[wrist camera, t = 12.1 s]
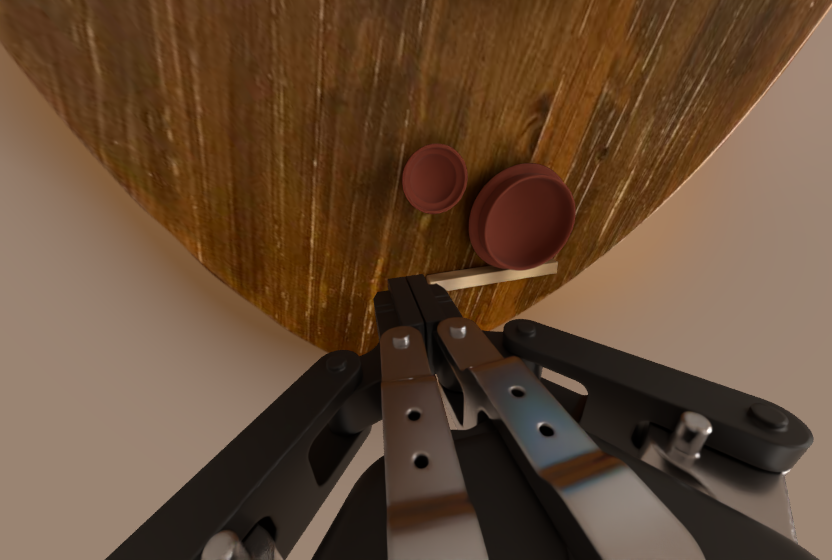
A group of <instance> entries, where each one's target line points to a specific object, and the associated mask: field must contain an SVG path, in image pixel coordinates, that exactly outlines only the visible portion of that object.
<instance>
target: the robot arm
mask: <svg viewBox="0 0 832 560" xmlns="http://www.w3.org/2000/svg"><path fill="white" fill-rule="evenodd" d="M388 290H389V291H382V292H377V294H376V295H375V297H374V299H373V300H374V307H375V315H376V322H377V330H378V335H379V343H378V345H377V346H376V347H375V348H374V349H373V350H372V351H370V352H368V353H366V354H364V355H362V356H358V355H357V354H356V353H354V352H352V351H349V350H338V351H334V352H331V353H328V354H326V355H325V356H323V357H321V358H320V359H319V360H318V361H317V362H316V363H315V364H314V365H313V366H311V367H310V369H309V370H307V371H306V372H305V373H304V374H303V375H302V376H301V377H300V378H299V379H298V380H297V381H296V382H294V383H293V384H292V385H291V386H290V387H289V388H288V389H287V390H286V391H285V392H284V393H283V394H282V395H280V396H279V397H278V398H277V399H276V400H275V401H274V402H273V403H272V404H271V405H270V406H269V407H268V408H267V409H266V410H265V411H263V412H262V413H261V414H260V415H259V416H258V417H257V418H256V419H255V420H254V421H253V422H252V423H251V424H250V425H248V426H247V427H246V428H245V429H244V430H243V431H242V432H241V433H240V434H239V435H238V436H237V437H236V438H235V439H233V440H232V441H231V442H230V443H229V444H228V445H227V446H226V447H225V448H224V449H223V450H222V451H221V452H219V453H218V455H216V456H215V457H214V458H213V459H212V460H211V461H210V462H209V463H208V464H207V465H206V466H205V467H204V468H202V469H201V470H200V471H199V472H198V473H197V474H196V475H195V476H194V477H193V478H192V479H191V480H190V481H189V482H188V483H186V484H185V485H184V486H183V487H182V488H181V489H180V490H179V491H178V492H177V493H176V494H175V495H174V496H172V497H171V498H170V499H169V500H168V501H167V502H166V503H165V504H164V505H163V506H162V507H161V508H160V509H159V510H157V512H155V513H154V514H153V515H152V516H151V517H150V518H149V519H148V520H147V521H146V522H145V523H144V524H143V525H141V526H140V527H139V528H138V529H137V530H136V531H135V532H134V533H133V534H132V535H131V536H130V537H129V538H128V539H127V540H125V541H124V542H123V543H122V544H121V545H120V546H119V547H118V548H117V549H116V550H115V551H114V552H113V553H112V554H110V555H109V556H108V557H107V558H106V559H105V560H285V559H286V558H287V556H288V555H289V553H290V552H291V550H292V549H293V547H294V546H295V544H296V543H297V541H298V540H299V538H300V537H301V535H302V534H303V532H304V531H305V529H306V528H307V526H308V525H309V523H310V522H311V520H312V519H313V517H314V516H315V514H316V513H317V511H318V510H319V508H320V507H321V505H322V504H323V502H324V501H325V499H326V498H327V497H328V495H329V493H330V492H331V491H332V489H333V488H334V486H335V485H336V483H337V482H338V480H339V478H340V477H341V476H342V474H343V473H344V471H345V470H346V468H347V466H348V465H349V464H350V462H351V461H352V459H353V457H354V456H355V454H356V453H357V452H358V450H359V449H360V447H361V446H362V444H363V443H364V441H365V440H366V438H367V437H368V435H369V433H370V431H371V427H372V425H373V424H375V423H377V422H378V421H380V420H383V439H384V456H382V457H381V458H379V459H378V460H377V461H376V462H374V463H373V464H372V465H371V466H370V467H369V468H368V469H367V470H366V471H365V472H364V473H363V474H362V475H361V477H360V478H359V479H358V481H357V482H356V483H355V485H354V487H353V488H352V490H351V492H350V493H349V495H348V497H347V498H346V500H345V502H344V504H343V506H342V507H341V509H340V511H339V513H338V514H337V516H336V518H335V519H334V521H333V523H332V525H331V526H330V528H329V530H328V532H327V533H326V535H325V537H324V538H323V540H322V542H321V544H320V545H319V547H318V549H317V551H316V552H315V554H314V556H313V557H312V559H311V560H819V559H818V558H816V557H815V556H814V555H812V554H811V553H809V552H808V551H807V550H806V549H804V548H802V547H801V546H800V545H798V542H797V537H796V532H795V527H794V522H793V517H792V512H791V507H790V502H789V497H788V491H787V487H786V482H785V476H786V474H787V473H788V472H789V471H790V469H791V468H792V467H793V466H794V465H795V464H796V462H797V461H798V460H799V459H800V457H801V456H802V455H803V454H804V453H805V452H806V450H807V449H808V448H809V447H810V446H811V445H812V443H813V435H812V433H811V431H810V429H808V427H807V426H806V425H805V424H804V423H803V422H802V421H801V420H800V419H798V418H797V417H796V416H795V415H793V414H792V413H790V412H789V411H787V410H785V409H784V408H782V407H780V406H778V405H776V404H774V403H771V402H769V401H766V400H764V399H761V398H758V397H755V396H752V395H749V394H746V393H743V392H740V391H738V390H735V389H731V388H729V387H726V386H723V385H720V384H717V383H714V382H711V381H708V380H705V379H702V378H699V377H696V376H693V375H690V374H687V373H684V372H681V371H679V370H675V369H673V368H670V367H667V366H664V365H661V364H658V363H655V362H652V361H649V360H646V359H643V358H640V357H637V356H634V355H632V354H629V353H626V352H623V351H620V350H617V349H614V348H611V347H608V346H605V345H602V344H599V343H596V342H593V341H590V340H587V339H584V338H582V337H578V336H576V335H573V334H570V333H567V332H564V331H561V330H558V329H555V328H552V327H549V326H546V325H543V324H540V323H537V322H534V321H531V320H526V319H516V320H512V321H509V322H508V323H506V324H505V326H504V331H503V332H493V331H483V330H481V329H480V328H479V327H478V326H477V324H476V323H475V322H473V321H472V320H470V319H467V318H463V317H462V315H461V313H460V312H459V310H458V309H457V307H456V306H455V304H454V302H453V301H452V299H451V298H450V296H449V294H448V293H447V291H446V290H445V288H443V287H442V286H440V285H438V284H437V283H435V284H428V283H427V281H426V279H425V277H424V275H423V274H419V275H412V276H406V277H399V278H392V279H388ZM543 367H545V368H547V369H549V370H552V371H554V372H556V373H559V374H561V375H564V376H566V377H568V378H571V379H573V380H576V381H578V382H579V383H581V384H582V385H584V386H585V388H586V389H587V391H588V395H581V394H578V393H576V392H574V391H571V390H569V389H567V388H564V387H562V386H560V385H558V384H555V383H553V382H551V381H548V380H546V379H544V378H542V377H541V374H542V368H543ZM435 374H437V376H438V382H439V386H438V382H437V379H436V376H435ZM442 399H443V401H444V403H445V405H446V407H447V409H448V411H449V413H450V416H451V418H452V420H453V422H454V424H455V426H456V428H457V430H450V427H449V423H448V420H447V416H446V412H445V409H444V405H443V401H442Z"/></svg>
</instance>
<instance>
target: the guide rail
mask: <svg viewBox="0 0 832 560" xmlns="http://www.w3.org/2000/svg"><path fill="white" fill-rule="evenodd" d="M557 265H558V262H557V261H555V260H554V259H550V260H549V261H547V262H546V263H544V264H542V265H540V266H538V267H536V268H533V269H529V270H522V271H517V270H510V269H502V268H497V267H494V266H492V265H490V266H483V267H477V268H470V269H464V270H457V271H451V272H444V273H438V274H431V275H427V276H426V278H427V283H428V284H435V283H437V284H438V285H440V286H442V287H443V288H445V290H446V291H449V290H455V289H461V288H467V287H473V286H480V285H486V284H492V283H498V282H504V281H510V280H516V279H522V278H529V277H535V276H541V275H547V274H553V273H556V272H557Z"/></svg>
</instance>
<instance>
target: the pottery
mask: <svg viewBox="0 0 832 560" xmlns="http://www.w3.org/2000/svg"><path fill="white" fill-rule="evenodd" d="M467 179H468V175H467V168H466V165H465V162H464V160H463V158H462V157H461V156H460V154H459V153H458V152H457V151H456V150H454V149H453V148H451V147H449V146H447V145H444V144H430V145H426V146H424V147H422V148H420V149H418V150H417V151H416V152H415V153H413V154H412V156H411V157H410V158H409V160H408V161H407V163H406V165H405V167H404V170H403V175H402V186H403V191H404V194H405V196H406V198H407V200H408V201H409V202H410V204H411V205H412V206H413V207H415V208H416V209H418V210H419V211H421V212H424V213H428V214H438V213H442V212H445V211H447V210H449V209H451V208H452V207H453V206H455V205H456V204H457V203H458V202H459V200H460V199H461V198H462V196H463V194H464V192H465V189H466V186H467ZM575 212H576V211H575V202H574V199H573V196H572V194H571V192H570V190H569V189H568V187H567V186H566V185H565V184H564V183H563V181H562V180H561V178H560V177H559V176H558V175H557V174H556V173H555V172H554V171H552V170H551V169H549V168H547V167H545V166H543V165H539V164H533V163H525V164H519V165H515V166H512V167H509V168H507V169H505V170H503V171H501V172H500V173H498V174H497V175H495V176H494V177H493V178H492V179H491V180H490V181H489V182H488V183H487V184H486V185H485V186H484V187H483V188H482V190H481V191H480V193H479V194H478V196H477V198H476V199H475V202H474V204H473V206H472V209H471V213H470V217H469V236H470V240H471V244H472V246H473V248H474V250H475V252H476V253H477V254H478V256H479V257H480V258H481V259H482V260H483V261H485V262H486V263H488V264H490V265H492V266H494V267H497V268H502V269H510V270H517V271H522V270H529V269H533V268H536V267H538V266H540V265H542V264H544V263H546V262H547V261H549V260H550V259H552V258H553V257H554V256H555V255H556V254H557V253H558V252H559V251H560V250H561V249H562V247H563V246H564V245H565V243H566V242H567V240H568V238H569V236H570V234H571V232H572V229H573V226H574V222H575Z"/></svg>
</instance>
